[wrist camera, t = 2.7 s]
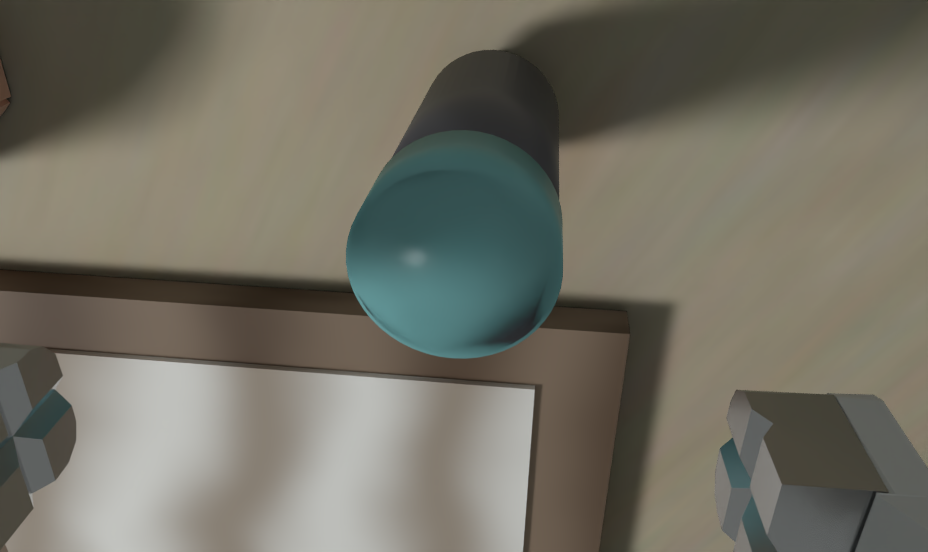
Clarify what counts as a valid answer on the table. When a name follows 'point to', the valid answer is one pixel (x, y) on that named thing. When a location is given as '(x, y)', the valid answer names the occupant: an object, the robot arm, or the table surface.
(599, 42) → the table surface
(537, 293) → the marker
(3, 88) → the pen pot
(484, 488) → the brown picture frame
